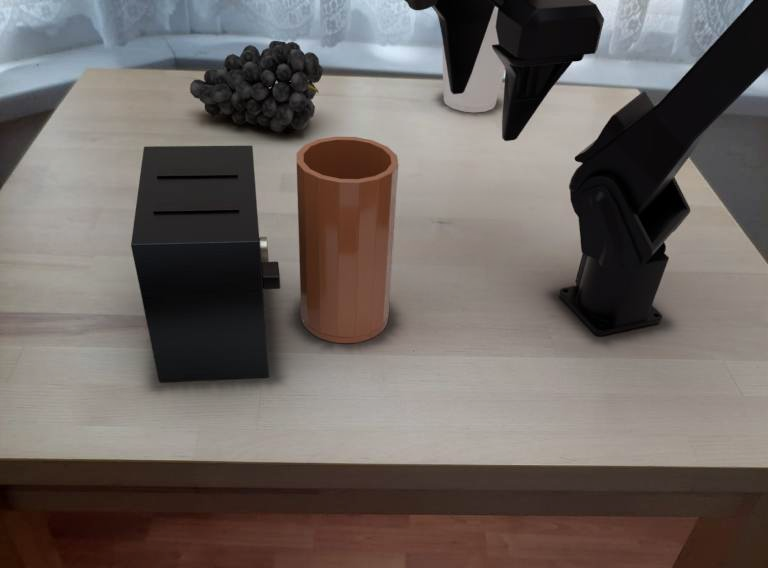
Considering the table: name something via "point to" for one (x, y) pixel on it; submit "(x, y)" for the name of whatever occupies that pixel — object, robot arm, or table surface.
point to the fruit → (263, 87)
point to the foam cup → (479, 76)
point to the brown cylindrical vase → (346, 236)
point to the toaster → (202, 262)
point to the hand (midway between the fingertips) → (481, 115)
